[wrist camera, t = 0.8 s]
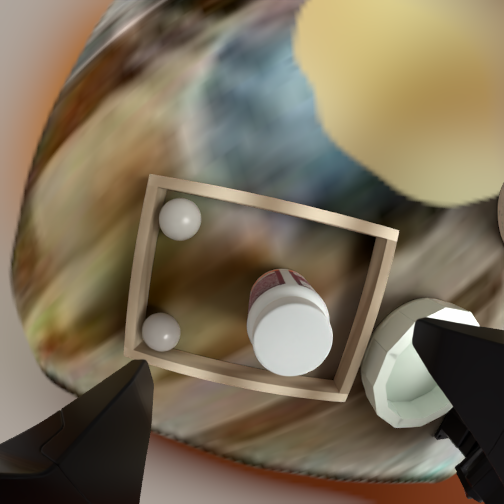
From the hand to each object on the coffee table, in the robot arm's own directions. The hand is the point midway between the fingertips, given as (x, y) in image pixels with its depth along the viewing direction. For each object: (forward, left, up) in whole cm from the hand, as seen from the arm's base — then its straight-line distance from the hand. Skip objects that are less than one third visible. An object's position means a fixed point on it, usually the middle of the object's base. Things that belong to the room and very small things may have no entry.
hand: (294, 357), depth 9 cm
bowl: (-14, +5, -14) cm, 20 cm away
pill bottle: (-1, +2, -14) cm, 14 cm away
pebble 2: (+7, +6, -12) cm, 15 cm away
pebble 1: (+7, -3, -12) cm, 14 cm away
